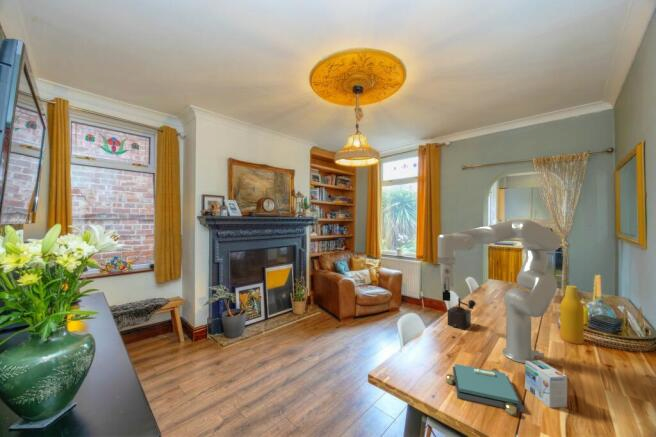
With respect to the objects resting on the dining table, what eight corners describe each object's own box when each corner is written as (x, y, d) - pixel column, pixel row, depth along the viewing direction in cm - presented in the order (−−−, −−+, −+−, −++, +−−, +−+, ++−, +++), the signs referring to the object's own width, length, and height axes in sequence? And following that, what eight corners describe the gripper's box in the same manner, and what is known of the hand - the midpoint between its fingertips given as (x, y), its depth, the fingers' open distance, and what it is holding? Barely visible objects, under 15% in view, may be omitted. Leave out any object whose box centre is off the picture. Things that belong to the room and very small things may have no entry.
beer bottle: (556, 338, 142) (556, 285, 142) (564, 335, 147) (565, 283, 147) (579, 346, 134) (579, 289, 134) (586, 342, 138) (587, 287, 138)
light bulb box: (524, 388, 101) (524, 360, 101) (540, 387, 101) (540, 359, 101) (550, 408, 90) (550, 377, 90) (568, 407, 91) (568, 376, 91)
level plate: (504, 376, 105) (504, 369, 105) (518, 404, 89) (518, 396, 89) (454, 366, 111) (454, 360, 111) (459, 391, 95) (459, 384, 95)
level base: (505, 377, 108) (505, 371, 108) (526, 419, 85) (526, 411, 85) (444, 365, 116) (444, 360, 116) (448, 401, 93) (448, 394, 93)
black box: (446, 325, 160) (446, 295, 160) (453, 320, 167) (453, 292, 167) (474, 333, 149) (474, 301, 149) (480, 328, 156) (480, 297, 156)
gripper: (457, 263, 114) (456, 306, 114) (453, 259, 128) (453, 296, 128) (438, 262, 116) (438, 304, 116) (437, 258, 130) (437, 295, 130)
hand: (446, 300), depth 122 cm, fingers closed
